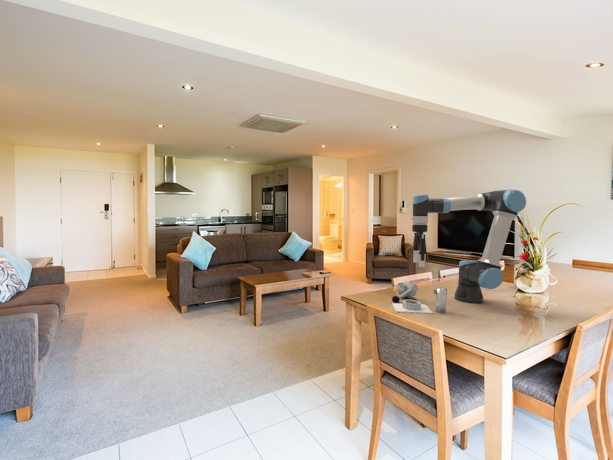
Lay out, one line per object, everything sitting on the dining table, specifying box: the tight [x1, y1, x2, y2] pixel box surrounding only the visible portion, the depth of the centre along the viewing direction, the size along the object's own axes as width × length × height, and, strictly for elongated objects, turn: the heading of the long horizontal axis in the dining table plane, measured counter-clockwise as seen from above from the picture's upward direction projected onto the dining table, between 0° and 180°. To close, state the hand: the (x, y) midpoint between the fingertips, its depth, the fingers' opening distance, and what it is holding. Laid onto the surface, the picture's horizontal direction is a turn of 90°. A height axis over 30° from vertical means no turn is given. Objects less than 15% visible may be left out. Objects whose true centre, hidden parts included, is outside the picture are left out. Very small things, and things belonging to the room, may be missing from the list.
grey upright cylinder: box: [433, 286, 448, 314], centre depth 166 cm, size 6×5×12 cm
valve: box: [391, 280, 419, 303], centre depth 187 cm, size 10×18×15 cm
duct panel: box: [391, 299, 434, 315], centre depth 170 cm, size 18×14×4 cm
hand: (418, 264), depth 171 cm, fingers open, 13 cm apart
